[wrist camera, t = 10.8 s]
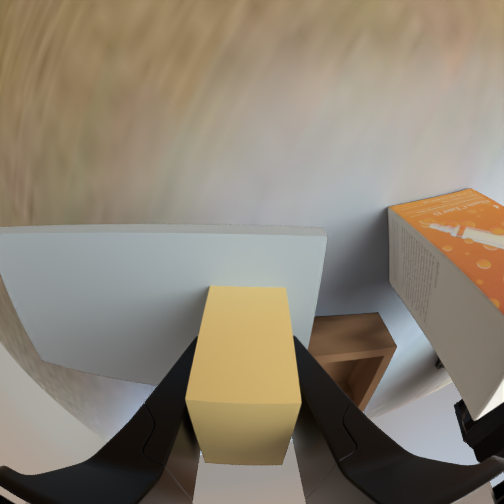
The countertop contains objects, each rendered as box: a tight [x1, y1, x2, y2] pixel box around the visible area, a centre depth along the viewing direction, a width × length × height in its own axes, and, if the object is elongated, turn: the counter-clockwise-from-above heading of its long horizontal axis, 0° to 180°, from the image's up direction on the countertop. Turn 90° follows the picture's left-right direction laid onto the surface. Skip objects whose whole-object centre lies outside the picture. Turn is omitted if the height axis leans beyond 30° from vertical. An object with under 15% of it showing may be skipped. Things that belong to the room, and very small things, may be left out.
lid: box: [0, 224, 328, 465], centre depth 8 cm, size 14×8×5 cm, turn 89°
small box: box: [388, 188, 504, 421], centre depth 13 cm, size 8×6×13 cm
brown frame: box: [308, 312, 397, 412], centre depth 21 cm, size 16×10×5 cm, turn 89°
